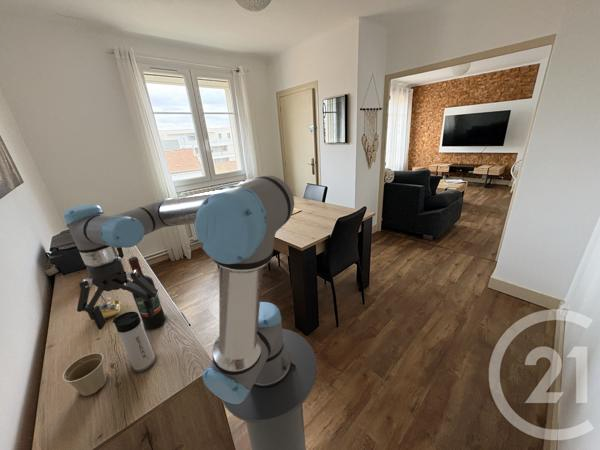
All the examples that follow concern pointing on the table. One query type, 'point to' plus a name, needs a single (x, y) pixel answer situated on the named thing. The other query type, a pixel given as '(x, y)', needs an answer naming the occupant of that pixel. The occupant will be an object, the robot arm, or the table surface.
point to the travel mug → (135, 340)
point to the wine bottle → (158, 315)
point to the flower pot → (86, 374)
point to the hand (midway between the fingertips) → (127, 320)
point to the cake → (109, 308)
